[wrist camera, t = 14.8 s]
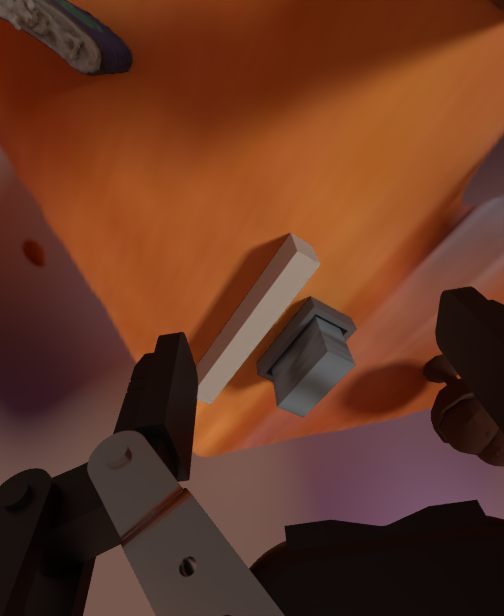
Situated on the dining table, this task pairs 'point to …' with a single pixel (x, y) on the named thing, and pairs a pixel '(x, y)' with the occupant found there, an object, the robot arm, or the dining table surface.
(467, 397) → the ice cream bowl
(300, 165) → the dining table surface
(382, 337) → the dining table surface
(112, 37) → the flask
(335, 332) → the block
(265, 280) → the door board
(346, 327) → the cradle
